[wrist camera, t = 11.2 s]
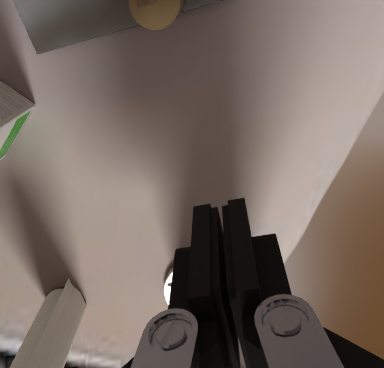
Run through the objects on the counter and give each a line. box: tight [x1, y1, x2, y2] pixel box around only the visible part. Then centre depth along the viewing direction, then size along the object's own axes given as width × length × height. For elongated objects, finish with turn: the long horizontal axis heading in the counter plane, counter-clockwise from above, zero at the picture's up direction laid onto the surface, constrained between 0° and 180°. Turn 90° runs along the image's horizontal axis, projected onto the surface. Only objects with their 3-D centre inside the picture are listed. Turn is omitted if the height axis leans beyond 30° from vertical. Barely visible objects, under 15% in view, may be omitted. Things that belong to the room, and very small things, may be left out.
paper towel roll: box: [10, 278, 86, 368], centre depth 46 cm, size 7×6×21 cm
